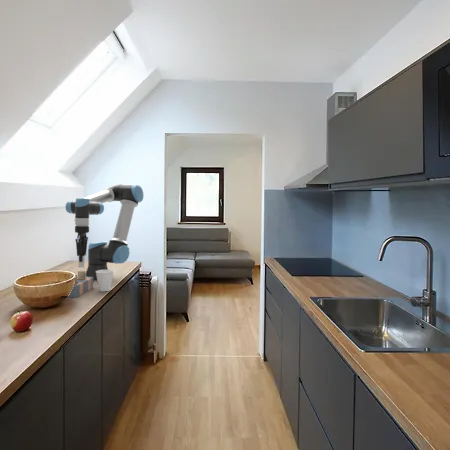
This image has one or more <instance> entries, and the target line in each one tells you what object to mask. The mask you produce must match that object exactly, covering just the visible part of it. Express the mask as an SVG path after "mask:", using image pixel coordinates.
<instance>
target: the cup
mask: <svg viewBox="0 0 450 450" xmlns="http://www.w3.org/2000/svg"><path fill="white" fill-rule="evenodd" d="M114 272H115V270H112V269H108V270H98V271H96V275H97V279H96V280H97V287H98V288H97V289H98V291H99V292H101V293H102V292H104V293H105V291H107V292H110V291H111V288H112V281H113V278H114V277H113V276H114Z"/></svg>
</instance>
